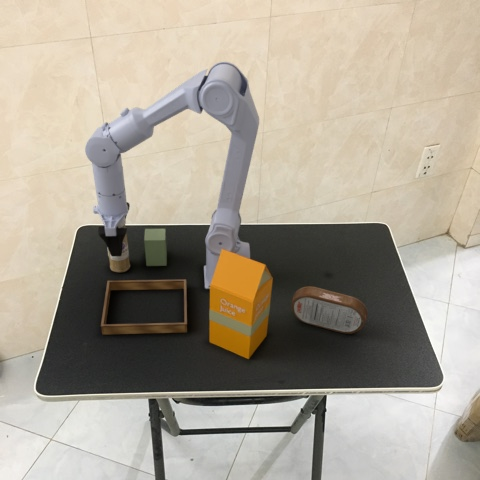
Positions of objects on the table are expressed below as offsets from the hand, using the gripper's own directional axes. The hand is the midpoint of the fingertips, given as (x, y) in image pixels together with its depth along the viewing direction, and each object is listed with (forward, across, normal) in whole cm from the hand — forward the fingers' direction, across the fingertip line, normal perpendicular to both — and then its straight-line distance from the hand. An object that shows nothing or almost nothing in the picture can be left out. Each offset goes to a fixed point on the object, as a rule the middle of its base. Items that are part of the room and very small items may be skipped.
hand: (117, 245), depth 119 cm
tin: (+6, +20, +42) cm, 48 cm away
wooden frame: (+6, +14, +6) cm, 17 cm away
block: (+6, -2, +8) cm, 10 cm away
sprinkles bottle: (+6, 0, 0) cm, 6 cm away
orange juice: (+6, +24, +24) cm, 35 cm away
